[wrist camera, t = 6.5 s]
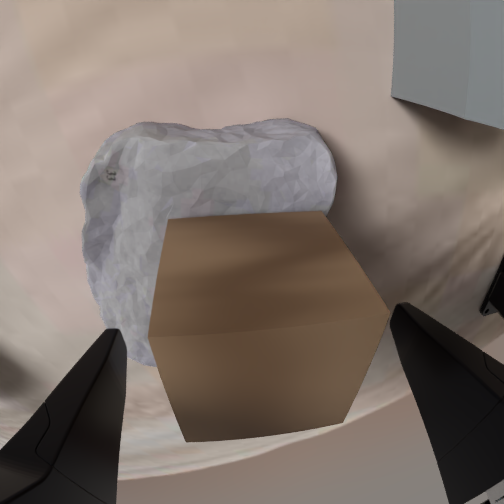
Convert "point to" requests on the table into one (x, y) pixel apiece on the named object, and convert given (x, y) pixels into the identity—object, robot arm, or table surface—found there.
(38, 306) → the table surface
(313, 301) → the walnut cube
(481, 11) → the slate cube
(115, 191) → the stone block
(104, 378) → the robot arm
